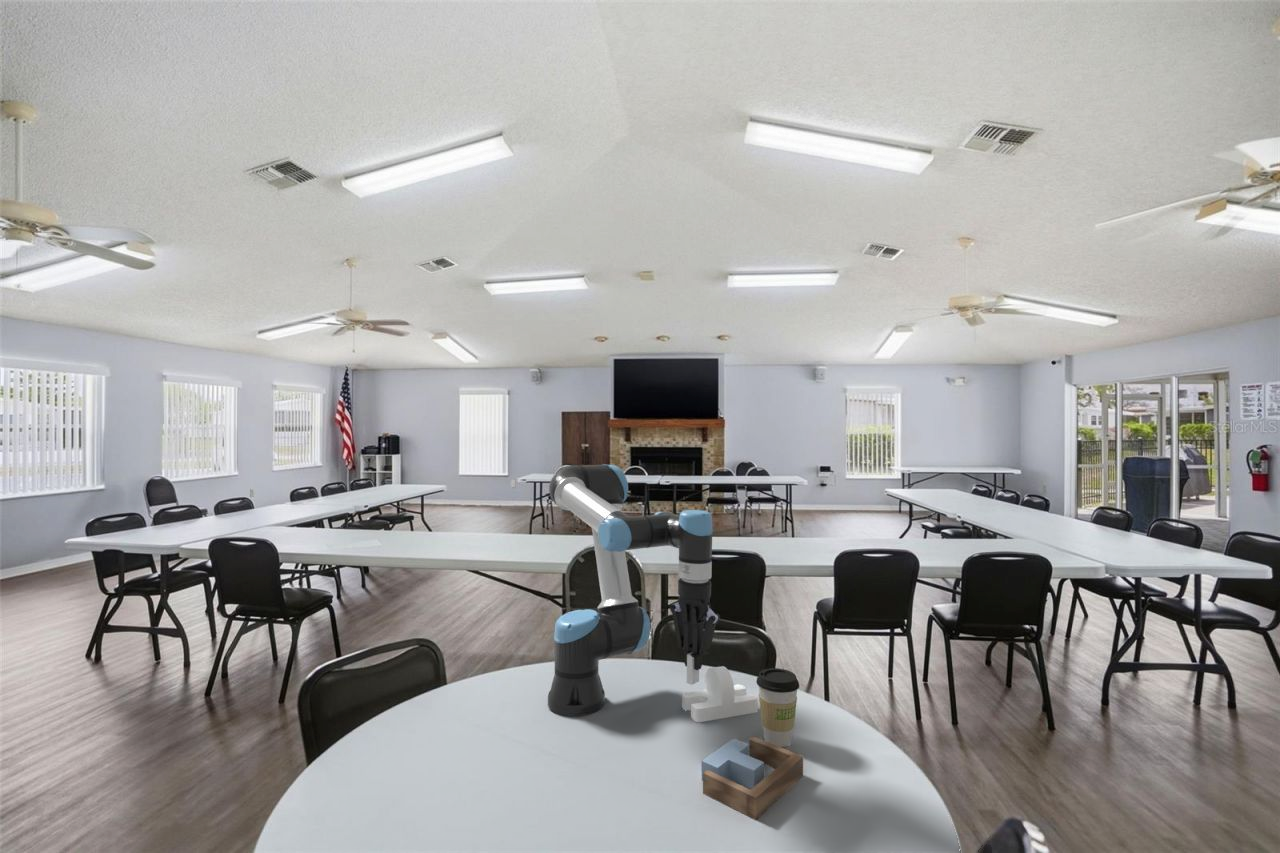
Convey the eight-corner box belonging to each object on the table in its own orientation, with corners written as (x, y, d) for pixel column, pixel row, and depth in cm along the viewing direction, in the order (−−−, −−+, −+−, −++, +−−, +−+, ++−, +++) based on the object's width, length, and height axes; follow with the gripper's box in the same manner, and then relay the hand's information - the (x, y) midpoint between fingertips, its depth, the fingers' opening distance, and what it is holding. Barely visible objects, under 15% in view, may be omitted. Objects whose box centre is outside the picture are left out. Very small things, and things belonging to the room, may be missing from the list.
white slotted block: (680, 707, 152) (680, 665, 153) (740, 697, 158) (740, 657, 159) (695, 724, 143) (695, 680, 144) (759, 712, 149) (759, 670, 150)
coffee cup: (801, 753, 129) (800, 685, 130) (756, 748, 131) (756, 682, 132) (798, 731, 139) (797, 668, 139) (756, 727, 141) (756, 665, 141)
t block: (701, 780, 119) (701, 760, 119) (733, 756, 128) (733, 738, 128) (743, 800, 113) (743, 779, 113) (774, 773, 121) (773, 754, 122)
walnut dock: (702, 793, 115) (702, 772, 115) (752, 754, 129) (752, 736, 129) (755, 820, 107) (755, 797, 107) (803, 775, 121) (803, 756, 121)
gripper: (662, 576, 134) (660, 678, 134) (708, 587, 125) (706, 696, 125) (682, 570, 139) (680, 668, 139) (727, 581, 131) (725, 685, 131)
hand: (692, 681), depth 132 cm, fingers closed
